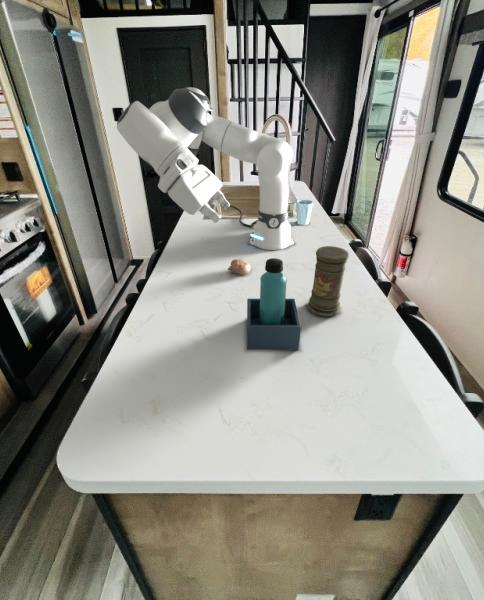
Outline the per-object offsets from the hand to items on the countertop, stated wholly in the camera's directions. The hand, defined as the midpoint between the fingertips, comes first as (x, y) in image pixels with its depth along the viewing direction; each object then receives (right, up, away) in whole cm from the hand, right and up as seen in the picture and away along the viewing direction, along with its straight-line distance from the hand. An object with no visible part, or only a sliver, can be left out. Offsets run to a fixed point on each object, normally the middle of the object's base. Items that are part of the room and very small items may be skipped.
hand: (223, 213), depth 76 cm
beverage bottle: (+12, -29, +7) cm, 32 cm away
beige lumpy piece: (+4, -11, +37) cm, 39 cm away
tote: (+12, -30, +7) cm, 33 cm away
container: (+28, -23, +17) cm, 41 cm away
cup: (+35, +17, +80) cm, 89 cm away
